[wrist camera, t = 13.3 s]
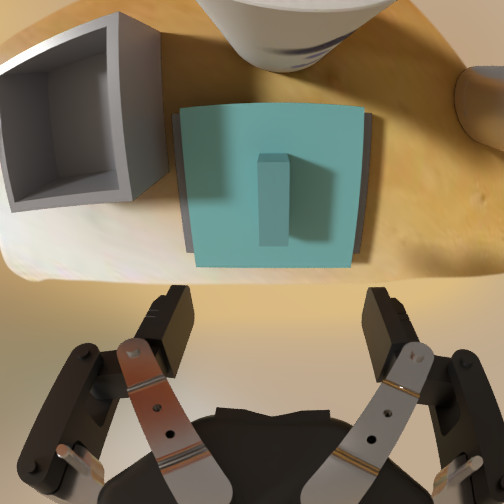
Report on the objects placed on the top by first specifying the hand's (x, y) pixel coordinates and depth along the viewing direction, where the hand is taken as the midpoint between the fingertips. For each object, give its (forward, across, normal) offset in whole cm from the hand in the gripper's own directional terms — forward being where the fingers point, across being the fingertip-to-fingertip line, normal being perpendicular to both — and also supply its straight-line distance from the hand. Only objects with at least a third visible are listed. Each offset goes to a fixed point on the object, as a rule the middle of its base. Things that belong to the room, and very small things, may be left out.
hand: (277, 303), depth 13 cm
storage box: (+18, +18, -10) cm, 27 cm away
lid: (+18, +1, 0) cm, 18 cm away
